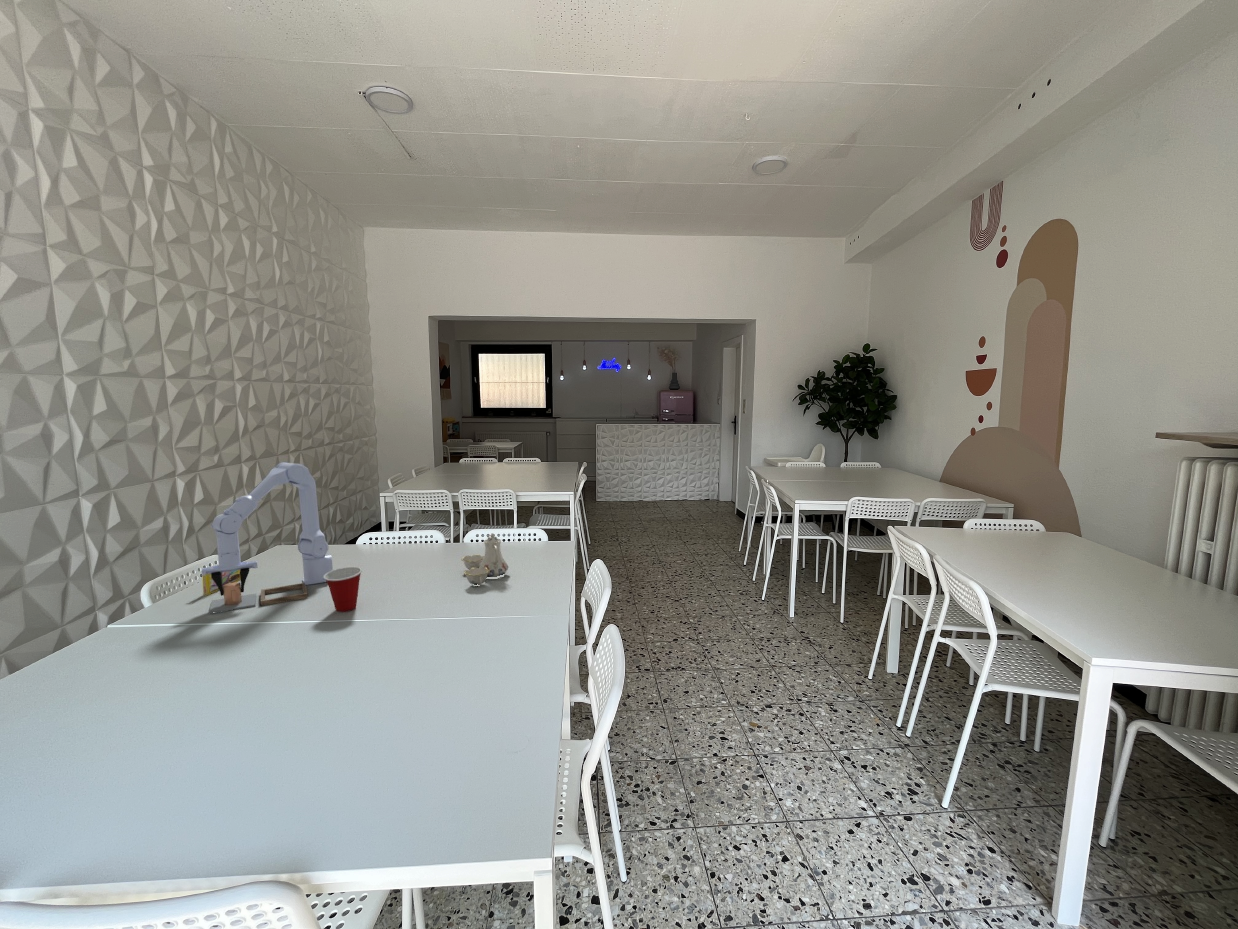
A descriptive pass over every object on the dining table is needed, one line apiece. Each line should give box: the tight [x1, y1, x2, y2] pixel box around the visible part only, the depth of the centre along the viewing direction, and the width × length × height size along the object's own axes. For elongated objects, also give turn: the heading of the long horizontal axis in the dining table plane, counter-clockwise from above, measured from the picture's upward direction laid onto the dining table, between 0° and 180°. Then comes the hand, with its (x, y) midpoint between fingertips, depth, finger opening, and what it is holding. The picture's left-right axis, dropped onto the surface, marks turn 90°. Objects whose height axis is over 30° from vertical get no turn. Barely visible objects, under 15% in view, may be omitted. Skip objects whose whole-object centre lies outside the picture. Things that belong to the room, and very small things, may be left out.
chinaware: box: [461, 533, 509, 587], centre depth 205 cm, size 28×17×17 cm, turn 24°
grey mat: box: [208, 593, 257, 614], centre depth 180 cm, size 12×12×1 cm
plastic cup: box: [324, 566, 363, 613], centre depth 175 cm, size 11×11×12 cm
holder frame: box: [260, 582, 308, 606], centre depth 188 cm, size 13×13×2 cm
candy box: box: [202, 570, 241, 596], centre depth 196 cm, size 16×2×8 cm, turn 179°
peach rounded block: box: [223, 581, 243, 605], centre depth 179 cm, size 6×5×6 cm
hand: (232, 593), depth 180 cm, fingers open, 5 cm apart
